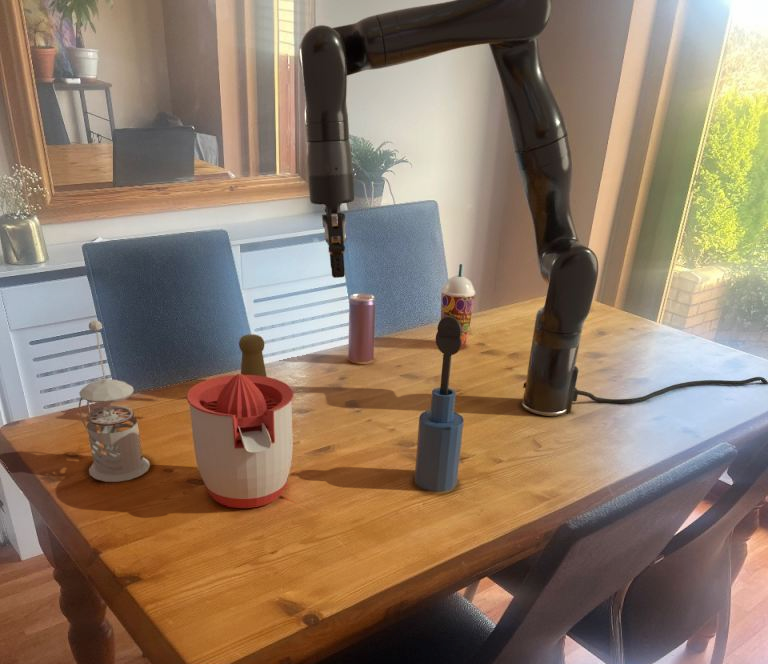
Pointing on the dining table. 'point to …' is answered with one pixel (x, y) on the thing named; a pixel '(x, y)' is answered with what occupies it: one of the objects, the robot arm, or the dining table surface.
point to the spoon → (448, 346)
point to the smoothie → (458, 302)
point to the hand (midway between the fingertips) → (337, 272)
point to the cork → (252, 355)
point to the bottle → (439, 444)
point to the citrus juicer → (242, 437)
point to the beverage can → (361, 328)
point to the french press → (112, 429)
